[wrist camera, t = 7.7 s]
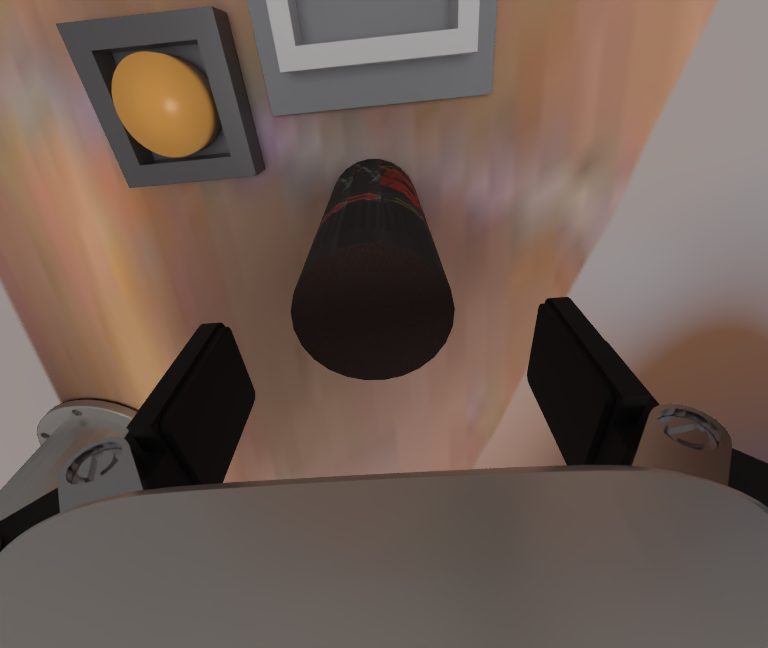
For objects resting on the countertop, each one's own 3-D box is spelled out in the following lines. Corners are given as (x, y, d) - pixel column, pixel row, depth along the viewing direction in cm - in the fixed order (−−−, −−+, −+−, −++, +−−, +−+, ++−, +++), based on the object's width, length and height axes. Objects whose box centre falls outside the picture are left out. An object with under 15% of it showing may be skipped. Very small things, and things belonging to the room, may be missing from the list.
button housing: (265, 168, 25) (256, 175, 23) (147, 180, 25) (129, 188, 23) (226, 13, 20) (211, 6, 18) (84, 28, 20) (55, 23, 19)
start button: (232, 147, 23) (221, 153, 22) (154, 155, 23) (137, 161, 22) (204, 48, 20) (188, 46, 19) (115, 58, 21) (93, 56, 19)
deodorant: (316, 181, 25) (257, 281, 13) (398, 143, 24) (422, 212, 11) (354, 256, 28) (337, 397, 16) (428, 225, 27) (473, 352, 14)
